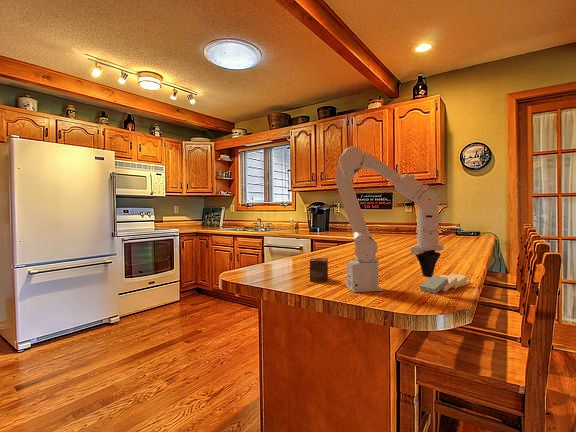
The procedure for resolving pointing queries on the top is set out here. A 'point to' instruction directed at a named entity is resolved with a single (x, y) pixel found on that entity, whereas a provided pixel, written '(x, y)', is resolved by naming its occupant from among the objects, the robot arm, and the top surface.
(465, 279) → the domino
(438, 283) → the domino
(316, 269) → the box
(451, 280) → the domino
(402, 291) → the top surface
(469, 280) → the domino
